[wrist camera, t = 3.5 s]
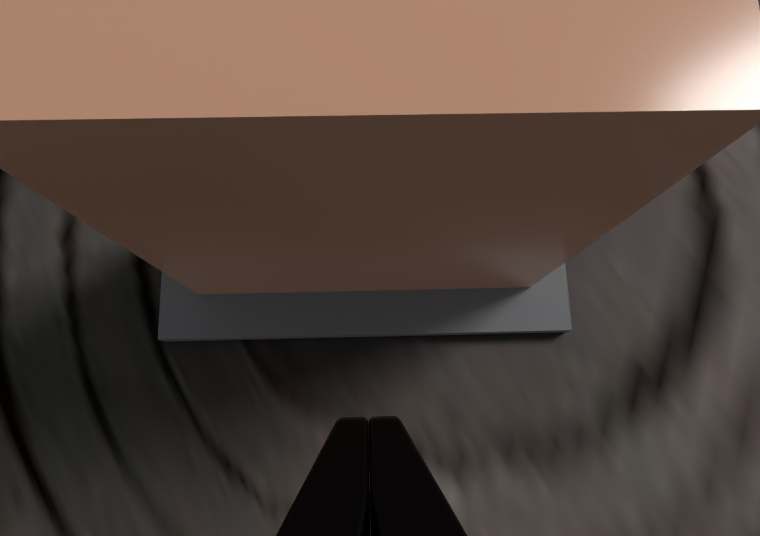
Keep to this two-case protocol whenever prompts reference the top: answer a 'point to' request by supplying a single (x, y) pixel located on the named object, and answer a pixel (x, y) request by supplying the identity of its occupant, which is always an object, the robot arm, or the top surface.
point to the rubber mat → (363, 312)
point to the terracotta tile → (367, 129)
